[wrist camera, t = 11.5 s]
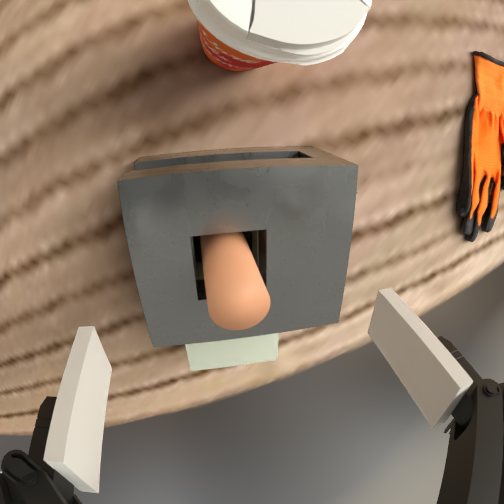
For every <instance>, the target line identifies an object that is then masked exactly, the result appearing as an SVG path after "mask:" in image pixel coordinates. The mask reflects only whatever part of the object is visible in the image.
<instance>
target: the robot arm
mask: <svg viewBox="0 0 504 504" xmlns="http://www.w3.org/2000/svg"><path fill="white" fill-rule="evenodd" d="M368 334H369V335H370V337H371V338H372V340H373V341H374V343H375V344H376V345H377V347H378V348H379V350H380V351H381V352H382V354H383V355H384V357H385V358H386V360H387V361H388V363H389V364H390V366H391V367H392V368H393V370H394V371H395V373H396V374H397V376H398V377H399V379H400V380H401V382H402V383H403V385H404V386H405V388H406V389H407V391H408V392H409V394H410V395H411V397H412V398H413V400H414V401H415V403H416V404H417V406H418V407H419V409H420V410H421V412H422V414H423V415H424V417H425V418H426V420H427V421H428V423H429V424H430V426H431V428H434V427H436V426H438V425H440V424H442V423H444V422H445V421H446V420H447V419H448V417H449V416H450V415H451V414H452V416H453V417H454V419H453V420H452V421H451V423H450V424H449V425H448V426H447V428H446V429H445V431H444V433H447V431H448V430H449V429H450V428H451V431H450V433H449V434H450V438H449V445H448V452H447V458H446V464H445V469H444V474H443V479H442V484H441V489H440V493H439V497H438V501H437V504H504V383H501V384H498V383H497V382H495V381H493V380H491V379H482V378H481V377H480V376H479V375H478V373H477V372H476V371H475V370H474V369H473V368H472V367H471V365H470V364H469V363H468V362H467V361H466V359H465V358H464V357H462V355H461V353H460V352H459V351H457V349H456V348H455V347H454V346H453V344H452V343H451V342H450V341H448V340H446V339H445V338H443V337H441V336H440V337H438V338H437V337H436V336H435V335H434V334H433V333H432V332H431V330H430V329H429V328H428V327H427V326H426V325H425V324H424V323H423V322H422V320H421V319H420V318H419V317H418V316H417V315H416V314H415V313H414V312H413V311H412V309H411V308H410V307H409V306H408V305H407V304H406V303H405V302H404V301H403V300H402V299H401V298H400V297H399V296H398V294H397V293H396V292H395V291H394V290H393V289H392V288H386V289H381V290H378V294H377V298H376V302H375V307H374V311H373V314H372V318H371V322H370V326H369V330H368ZM111 372H112V368H111V365H110V363H109V361H108V359H107V356H106V354H105V352H104V349H103V347H102V345H101V342H100V340H99V337H98V335H97V332H96V330H95V327H94V326H86V327H79V328H78V331H77V334H76V337H75V340H74V343H73V346H72V349H71V352H70V355H69V358H68V361H67V364H66V368H65V371H64V374H63V378H62V381H61V385H60V388H59V392H58V396H57V397H49V396H47V397H46V399H45V400H44V401H43V403H42V404H41V406H40V409H39V412H38V416H37V417H38V419H37V420H36V424H35V428H34V432H33V436H32V440H31V445H30V449H29V455H27V454H26V453H25V452H23V451H21V450H12V451H10V452H8V453H7V454H6V455H5V456H4V458H3V460H2V465H1V469H2V473H0V504H82V503H81V502H80V500H79V499H78V498H77V496H76V495H75V494H74V493H73V492H74V486H75V487H76V488H77V489H79V490H80V491H85V492H94V493H98V492H99V477H100V461H101V449H102V439H103V429H104V420H105V412H106V405H107V398H108V391H109V384H110V378H111Z"/></svg>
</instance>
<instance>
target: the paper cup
mask: <svg viewBox="0 0 504 504" xmlns="http://www.w3.org/2000/svg"><path fill="white" fill-rule="evenodd" d="M188 3H189V6H190V8H191V9H192V11H193V13H194V14H195V16H196V18H197V23H198V29H199V35H200V40H201V44H202V48H203V50H204V52H205V54H206V55H207V57H208V58H209V59H210V60H211V61H212V62H213V63H214V64H216V65H217V66H219V67H221V68H224V69H227V70H231V71H246V70H251V69H255V68H259V67H262V66H266V65H269V64H273V63H277V62H281V63H291V64H297V65H303V66H305V65H311V64H316V63H320V62H323V61H326V60H329V59H332V58H334V57H335V56H337V55H339V54H341V53H342V52H343V51H344V50H345V49H346V47H347V46H348V45H349V44H350V42H351V41H352V40H353V39H354V38H355V37H356V36H357V35H358V33H359V31H360V30H361V28H362V26H363V24H364V21H365V18H366V15H367V12H368V11H369V10H370V7H371V3H372V0H188Z"/></svg>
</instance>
